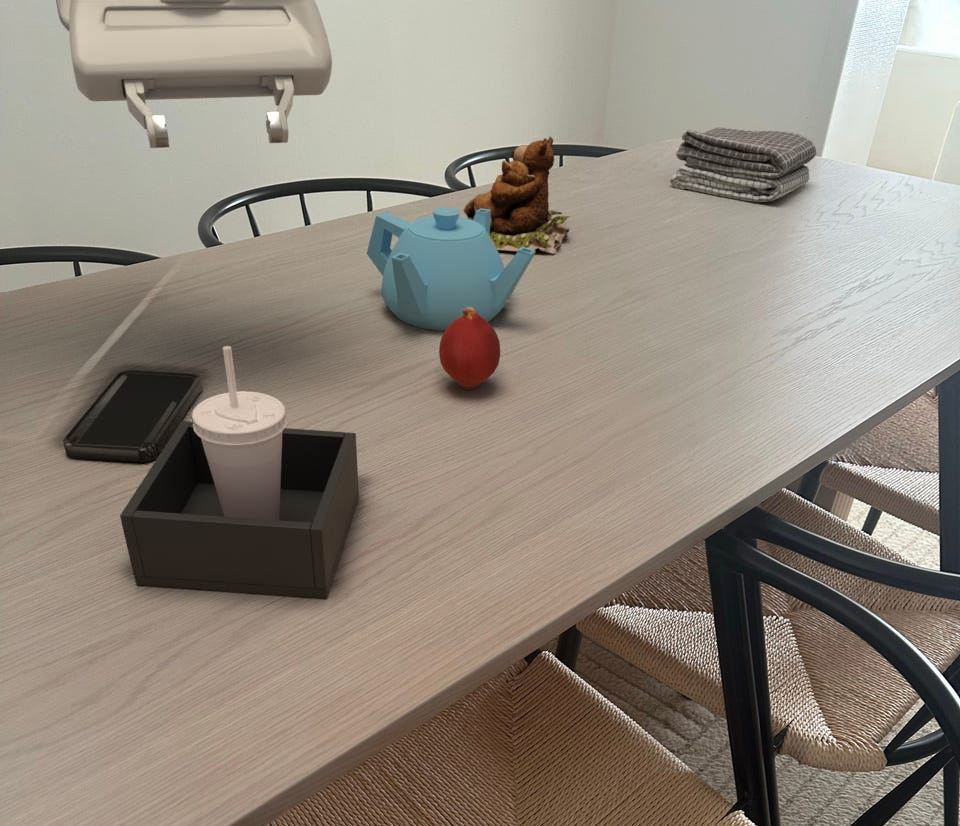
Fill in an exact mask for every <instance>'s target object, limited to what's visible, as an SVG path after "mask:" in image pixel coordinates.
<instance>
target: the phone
mask: <svg viewBox="0 0 960 826" xmlns="http://www.w3.org/2000/svg"><path fill="white" fill-rule="evenodd" d="M202 387H203V386H202V382H201V377H200V375H199V374H196V373H193V372H192V373H191V372H179V371H178V372H176V371H175V372H174V371H163V370H148V369H147V370H146V369H135V368H134V369H133V368H131V369H125V370H122V371H119V373H117V374H116V376H114V378H113V379H112V380H111V381H110V382H109V384H108V385H107V386H106V388H104V390H103V391H102V392H101V393H100V395H99V396H98V397H97V398H96V399H95V400H94V402H92V404H91V405H90V407H89V408H88V409H87V410H86V411H85V413H84V414H83V415H82V416H80V419H79V420H78V421H77V422H76V423H75V425H74V426H73V427H72V428H71V430H70V431H69V432H68V433H67V434H66V435H65V437H64V438H63V439H62V443H63V447H64V451H65V455H66V456H67V457H69V458H73V459H83V460H84V459H86V460H101V461H113V462H125V463H126V462H127V463H148V462H152V461H153V460H156V459H157V458H158V456H159V455H160V453H161V452H162V450H163V449H164V447H165V446H166V444H167V443H168V441H169V440H170V438H171V437H172V435H173V433H174V432H175V430H176V429H177V427H178V426H179V424H180V423H181V421H183V420H184V417H185V415H186V414H187V413H188V411H189V409H190V408H191V407H192V405H194V404H193V403H194V402H195V401H196V399H197V398H198V396H199V394H200V393H201V392H202V389H203V388H202Z"/></svg>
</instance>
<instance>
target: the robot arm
mask: <svg viewBox="0 0 960 826" xmlns="http://www.w3.org/2000/svg"><path fill="white" fill-rule="evenodd" d="M55 3H56V9H57V14H58V19H59V21H60V23H61V25H62V26H63V27H64V29H66V31H67V32H69V34H68V35H69V47H70V48H69V49H70V55H71V62H72V63H71V64H72V69H73V74H74V78H75V83H76V87H77V90H78V91H79V92H80V93H81V94H82V96H84V97H85V98H87V100H88V101H91V102H120V101H121V102H123V101H126V104H127V109H128V112H129V113H130V114H131V115H132V116H133V118H134V119H135V120H136V121H137V122H138V124H140V125H141V127H142V128H143V129H144V130H146V133H147V139H148V143H149V148H150V149H159V148H160V149H161V148H163V149H164V148H170V142H169V141H170V140H169V133H168V128H167V121H166V118H165V117H166V116H165V115H164V114H163V115H162V114H161V115H159V114H158V115H157V114H156V115H155V114H154V113H153V112H152V111H151V109H150V108H149V107H148V106H147V104H146V101H157V100H190V99H195V100H196V99H225V98H228V99H229V98H256V97H257V98H259V97H260V98H261V97H262V98H263V97H273V100H274V104H275V106H277V109H276V111H275V110H274V111H267V112H266V117H265V118H266V120H265V128H266V133H267V134H268V143H269V144H285V143H288V141H289V126H288V122H287V121H288V117H289V115H290V112H291V110H292V107H293V103H294V97H295V96H297V97H298V96H320V95H322V94H323V93H324V92H325V91H326V89H327V88H328V85H329V84H330V80H331V76H332V68H333V58H332V52H331V47H330V43H329V39H328V34H327V30H326V28H325V25H324V23H323V19H322V16H321V13H320V11H319V7H318V5H317V3H316V0H55Z"/></svg>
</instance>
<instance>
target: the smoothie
mask: <svg viewBox="0 0 960 826" xmlns="http://www.w3.org/2000/svg"><path fill="white" fill-rule="evenodd" d="M222 353H223V354H222V355H223V361H224V368H225V369H224V370H225V375H226V384H227V391H228V392H224V393H219V394H216V395H213V396H210V397H207V398H206V399H204V400H202V401H201V402H199V403H198V404H197V405H196V406H195V407H194V408H193V411H192V412H191V417H192V422H193V428H194V431H195V433H196V434H197V435H198V436H199V437H200V438H201V440H202V444H203V447H204V451H205V454H206V457H207V460H208V464H209V467H210V470H211V474H212V477H213V480H214V484H215V487H216V490H217V494H218V497H219V500H220V504H221V507H222V510H223V514H224V517H237V518H251V519H265V520H279V514H280V485H281V456H282V431H283V430H284V429H285V428H287V424H288V418H287V416H286V408H285V406H284V403H283V402H282V401H280V400H279V399H277V398H276V397H274V396H272V395H269V394H266V393H263V392H257V391H242V390H241V391H240V390H239V391H238V390H237V389H238V388H237V382H236V375H235V365H234V359H233V351H232V346H229V345H226V346H223V347H222Z"/></svg>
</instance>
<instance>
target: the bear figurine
mask: <svg viewBox="0 0 960 826" xmlns="http://www.w3.org/2000/svg"><path fill="white" fill-rule="evenodd" d="M553 144H554V138H553V137H552V136H549V137H548V138H546V137H545V138H543V140H542V139H539V140H535V141H532V142H531V143H530V142H529V144H521V145H518V146H517V147H516V148H515V149H514V150H513V151H512V152H511V158H512V161H509V162H508V161H507V160H502V162H501V172H502V173H501V174H499V175H497V176H496V178H495V181H494V182H493V183H492V186H491V189H489V190H488V191H487V192H484V193H478V194H476V195H475V197H473V198H472V199H470V200H469V202H467V204H466V205H465V207H464V208H463V210H462V211H463V213H464V214H465V216H466V218H467V219H470V220H473V219H474V216H475V211H477V210H479V209H481V208H482V209H488V210H491V215H490V238H491V239H492V241H493V243H494V245H495V247H496V249H497V251H508V252H509V251H510V252H517V251H518V249H520V248H521V247H525V248H528V249H532V250H535V251H536V250H537V249H539V250H540V251H541V252H544V253H548V254H556V253H557V252H558V250H556V248H557V247H559V246H560V245H562V243H563V239H564V237H565V236H566V234H569V232H570V230H571V228H570V227H567V223H566V221H567V220H568V219H570V217H571V216H568V215H567V216H566V215H563V212H561V211H558V210H549V207H550V205H549V203H550V202H549V175H550V170H551V169H552V168H553V167H554V165H555V153H554V150H553ZM555 215H558V216H555ZM560 215H561V216H560ZM553 216H555V217H553ZM556 241H557V242H556Z"/></svg>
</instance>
